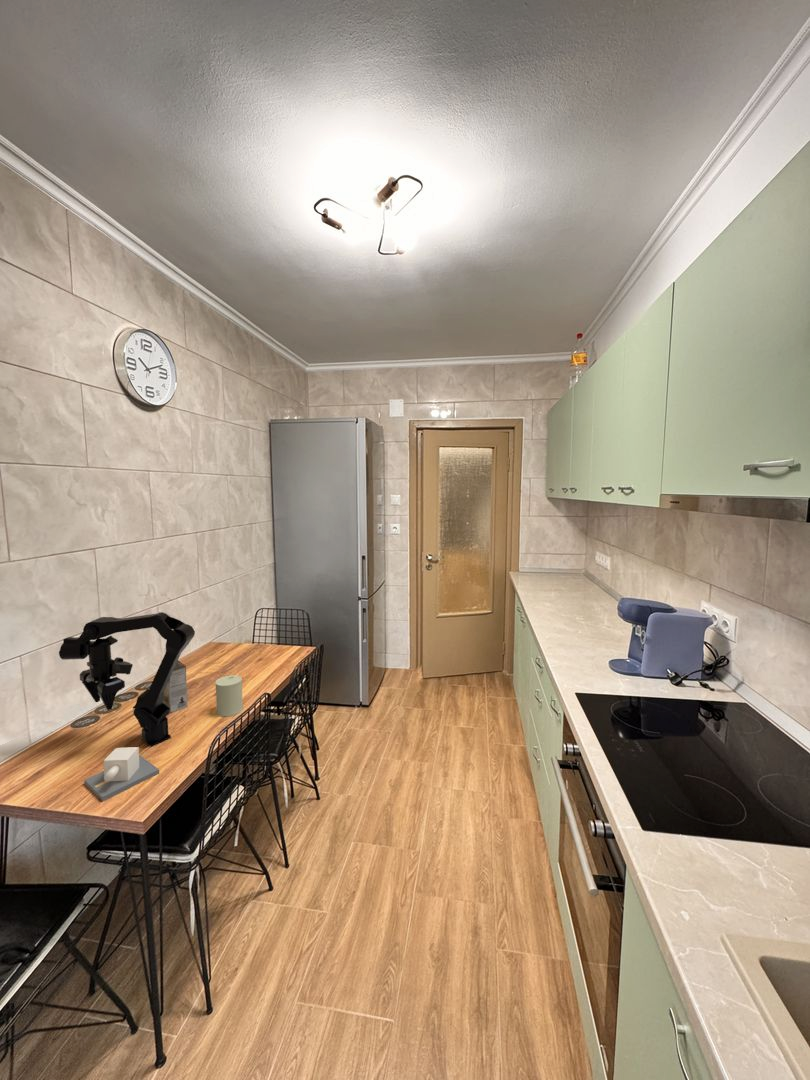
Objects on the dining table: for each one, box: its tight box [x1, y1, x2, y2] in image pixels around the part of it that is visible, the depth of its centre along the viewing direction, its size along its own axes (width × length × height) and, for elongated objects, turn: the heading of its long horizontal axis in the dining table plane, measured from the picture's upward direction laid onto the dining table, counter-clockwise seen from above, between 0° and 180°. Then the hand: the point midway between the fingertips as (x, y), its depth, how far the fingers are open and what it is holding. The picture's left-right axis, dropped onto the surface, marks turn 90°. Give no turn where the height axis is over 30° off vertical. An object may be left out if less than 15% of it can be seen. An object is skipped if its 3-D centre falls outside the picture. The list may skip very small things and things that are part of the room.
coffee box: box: [163, 660, 188, 713], centre depth 161 cm, size 9×6×16 cm
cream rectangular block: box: [103, 746, 140, 782], centre depth 118 cm, size 6×10×6 cm, turn 6°
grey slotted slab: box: [83, 754, 160, 802], centre depth 120 cm, size 14×12×5 cm
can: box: [214, 674, 244, 717], centre depth 158 cm, size 9×9×12 cm
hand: (103, 705), depth 137 cm, fingers open, 9 cm apart
